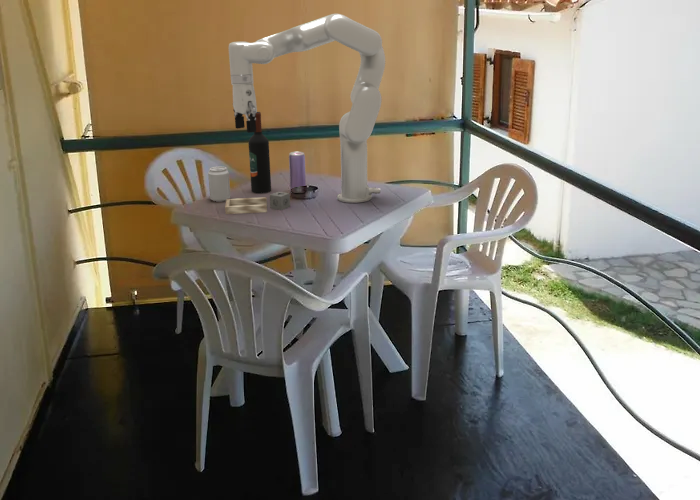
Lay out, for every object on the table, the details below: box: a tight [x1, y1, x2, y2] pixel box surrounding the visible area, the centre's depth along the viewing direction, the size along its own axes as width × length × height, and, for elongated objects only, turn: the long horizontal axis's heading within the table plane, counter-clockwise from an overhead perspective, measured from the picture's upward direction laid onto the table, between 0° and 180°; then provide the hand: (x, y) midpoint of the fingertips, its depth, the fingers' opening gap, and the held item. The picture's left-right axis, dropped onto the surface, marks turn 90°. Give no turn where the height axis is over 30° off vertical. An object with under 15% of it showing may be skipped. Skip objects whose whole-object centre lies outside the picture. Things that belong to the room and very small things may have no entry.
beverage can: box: [288, 151, 307, 192], centre depth 274 cm, size 6×6×15 cm
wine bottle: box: [248, 111, 272, 194], centre depth 274 cm, size 8×8×30 cm
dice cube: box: [269, 191, 291, 211], centre depth 257 cm, size 5×5×5 cm
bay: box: [224, 196, 268, 215], centre depth 256 cm, size 14×10×2 cm
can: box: [207, 166, 231, 203], centre depth 266 cm, size 8×8×12 cm
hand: (245, 130), depth 252 cm, fingers open, 9 cm apart
